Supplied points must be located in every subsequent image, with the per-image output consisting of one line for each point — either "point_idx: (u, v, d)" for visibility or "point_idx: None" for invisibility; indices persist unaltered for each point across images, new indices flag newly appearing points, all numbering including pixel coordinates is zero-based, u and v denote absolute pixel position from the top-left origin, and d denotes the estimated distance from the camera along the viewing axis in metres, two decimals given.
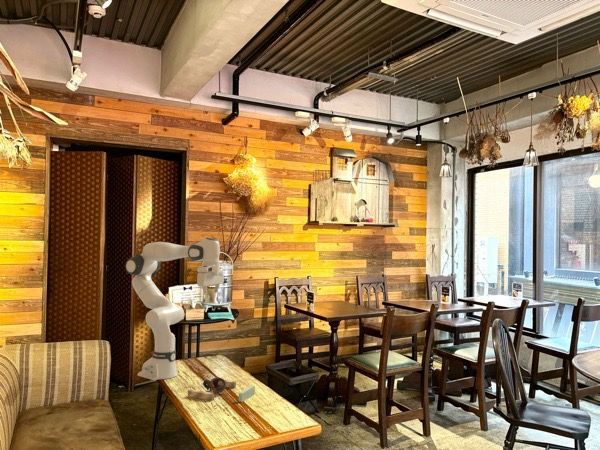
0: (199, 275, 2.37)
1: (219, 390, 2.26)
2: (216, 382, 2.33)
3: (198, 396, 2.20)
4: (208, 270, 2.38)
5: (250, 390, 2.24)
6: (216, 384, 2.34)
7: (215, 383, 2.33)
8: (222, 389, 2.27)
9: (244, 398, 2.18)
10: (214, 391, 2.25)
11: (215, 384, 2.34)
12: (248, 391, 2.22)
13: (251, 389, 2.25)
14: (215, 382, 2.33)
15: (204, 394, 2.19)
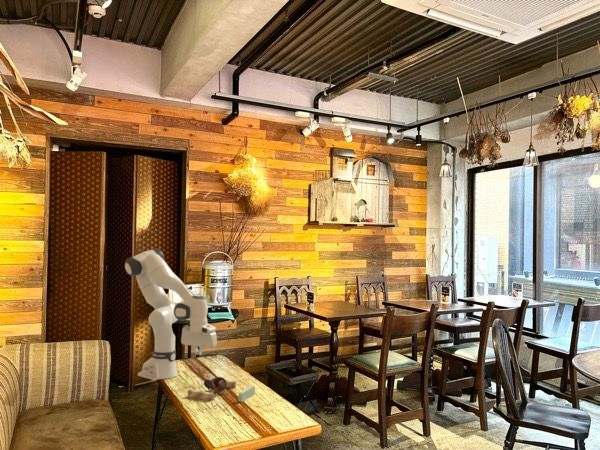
0: (213, 336, 2.30)
1: (220, 389, 2.26)
2: (217, 381, 2.34)
3: (198, 396, 2.20)
4: None
5: (250, 390, 2.24)
6: (217, 383, 2.35)
7: (216, 382, 2.34)
8: (223, 388, 2.28)
9: (244, 398, 2.18)
10: (215, 390, 2.26)
11: (216, 383, 2.34)
12: (248, 391, 2.22)
13: (251, 389, 2.25)
14: (216, 381, 2.34)
15: (204, 394, 2.19)
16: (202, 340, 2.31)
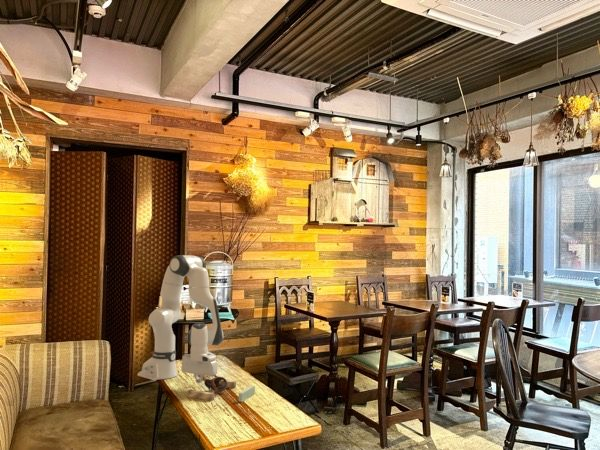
0: (213, 364, 2.30)
1: (221, 389, 2.27)
2: (217, 381, 2.35)
3: (198, 396, 2.20)
4: None
5: (250, 390, 2.24)
6: (217, 383, 2.35)
7: (216, 382, 2.35)
8: (224, 388, 2.28)
9: (244, 398, 2.18)
10: (216, 390, 2.26)
11: (216, 383, 2.35)
12: (248, 391, 2.22)
13: (251, 389, 2.25)
14: (216, 381, 2.35)
15: (204, 394, 2.19)
16: (202, 369, 2.31)
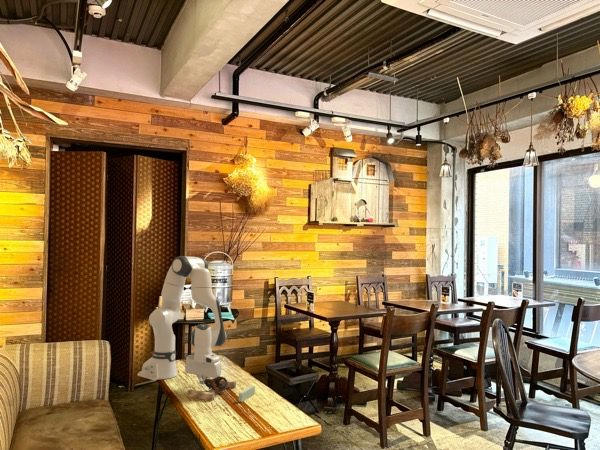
0: (217, 366, 2.28)
1: (221, 389, 2.27)
2: (218, 381, 2.35)
3: (198, 396, 2.20)
4: None
5: (250, 390, 2.24)
6: (218, 383, 2.35)
7: (217, 382, 2.35)
8: (224, 388, 2.28)
9: (244, 398, 2.18)
10: (216, 390, 2.27)
11: (217, 383, 2.35)
12: (248, 391, 2.22)
13: (251, 389, 2.25)
14: (217, 381, 2.35)
15: (204, 394, 2.19)
16: (206, 370, 2.30)
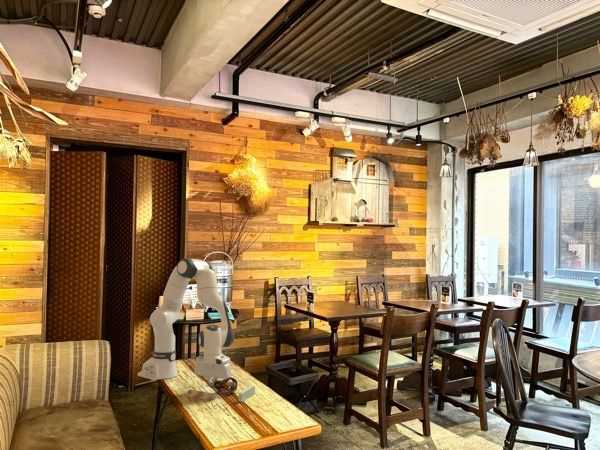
0: (227, 367, 2.26)
1: (233, 389, 2.27)
2: (225, 382, 2.33)
3: (198, 396, 2.20)
4: None
5: (250, 390, 2.24)
6: None
7: None
8: (235, 388, 2.28)
9: (244, 398, 2.18)
10: (229, 390, 2.26)
11: None
12: (248, 391, 2.22)
13: (251, 389, 2.25)
14: None
15: (204, 394, 2.19)
16: (216, 372, 2.28)
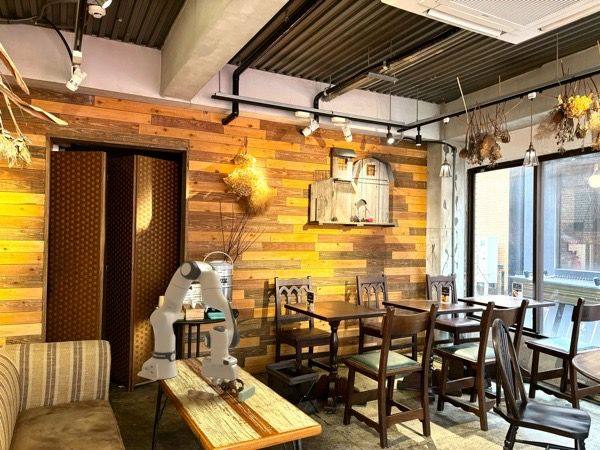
0: (234, 368, 2.24)
1: (241, 390, 2.26)
2: (230, 383, 2.32)
3: (198, 396, 2.20)
4: None
5: (250, 390, 2.24)
6: (229, 385, 2.32)
7: (229, 384, 2.31)
8: (242, 388, 2.28)
9: (244, 398, 2.18)
10: (237, 391, 2.25)
11: (229, 385, 2.32)
12: (248, 391, 2.22)
13: (251, 389, 2.25)
14: (229, 383, 2.31)
15: (204, 394, 2.19)
16: (223, 373, 2.26)
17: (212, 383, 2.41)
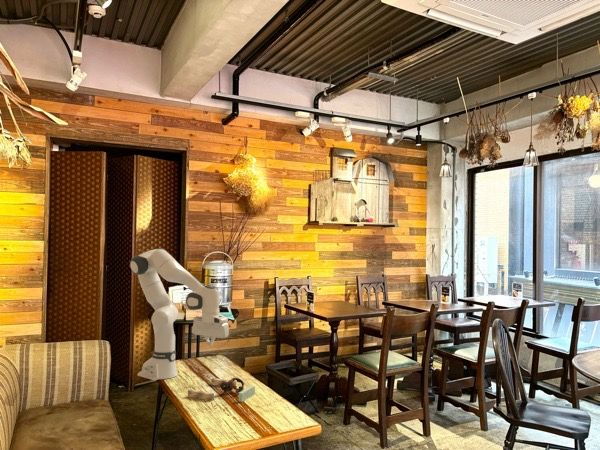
0: (225, 326, 2.28)
1: (241, 389, 2.27)
2: None
3: (198, 396, 2.20)
4: None
5: (250, 390, 2.24)
6: (229, 385, 2.33)
7: (229, 384, 2.32)
8: None
9: (244, 398, 2.18)
10: (237, 391, 2.25)
11: (228, 385, 2.32)
12: (248, 391, 2.22)
13: (251, 389, 2.25)
14: None
15: (204, 394, 2.19)
16: (214, 331, 2.29)
17: (212, 383, 2.41)
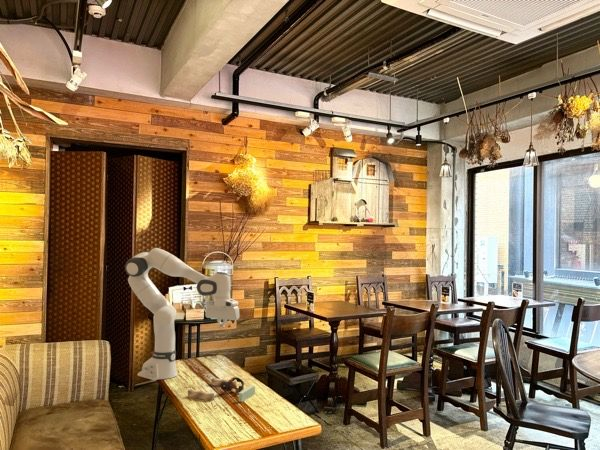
0: (236, 309, 2.45)
1: (241, 389, 2.28)
2: None
3: (198, 396, 2.20)
4: None
5: (250, 390, 2.24)
6: (229, 384, 2.33)
7: (229, 384, 2.33)
8: (242, 387, 2.29)
9: (244, 398, 2.18)
10: (237, 391, 2.26)
11: (228, 385, 2.33)
12: (248, 391, 2.22)
13: (251, 389, 2.25)
14: None
15: (204, 394, 2.19)
16: (225, 314, 2.46)
17: (212, 383, 2.41)
